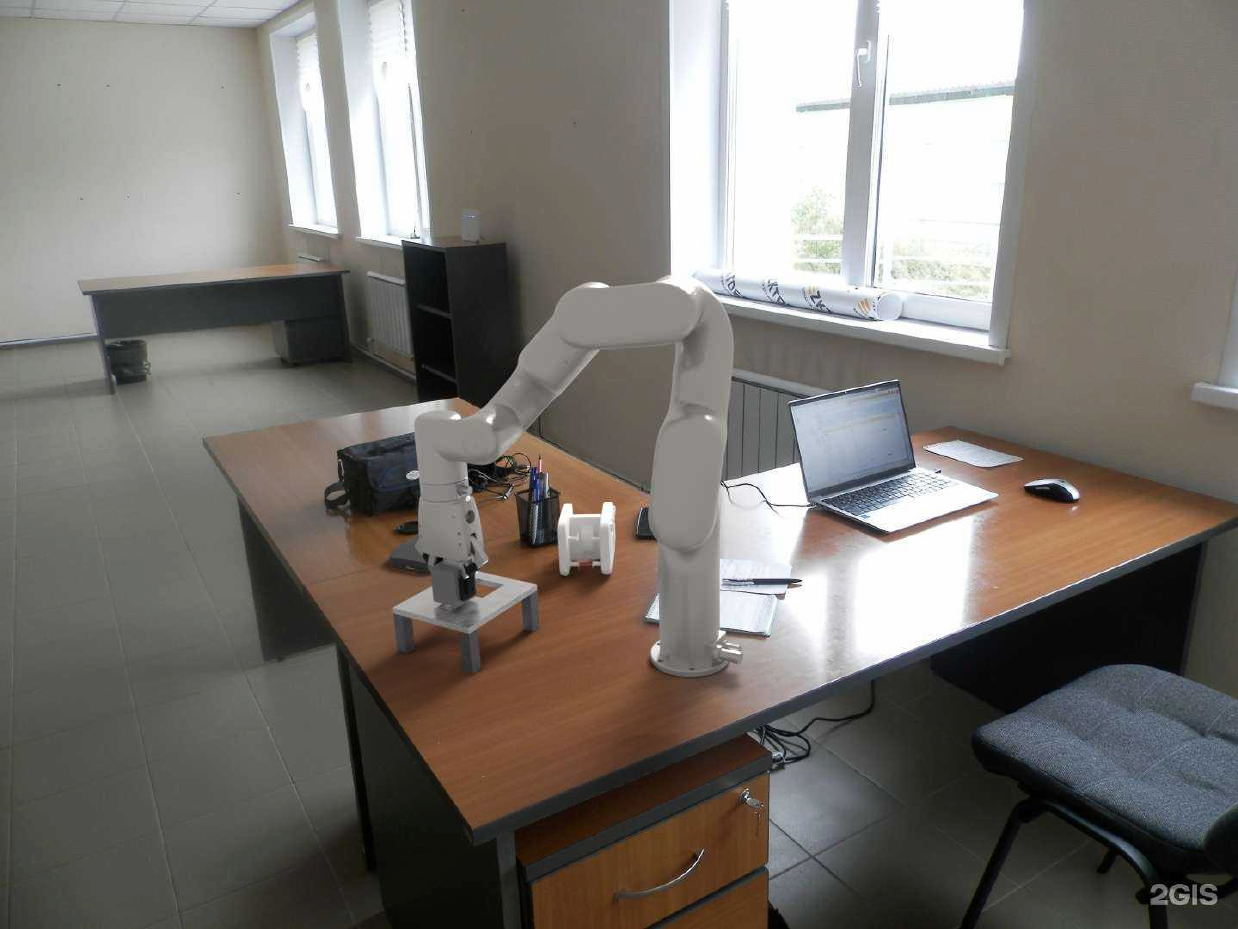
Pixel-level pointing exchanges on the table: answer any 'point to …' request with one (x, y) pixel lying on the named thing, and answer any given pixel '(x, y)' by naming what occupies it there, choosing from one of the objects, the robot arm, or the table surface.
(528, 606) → the miniature table
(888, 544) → the table surface
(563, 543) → the cable organizer
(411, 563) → the media streaming box
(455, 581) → the peg
